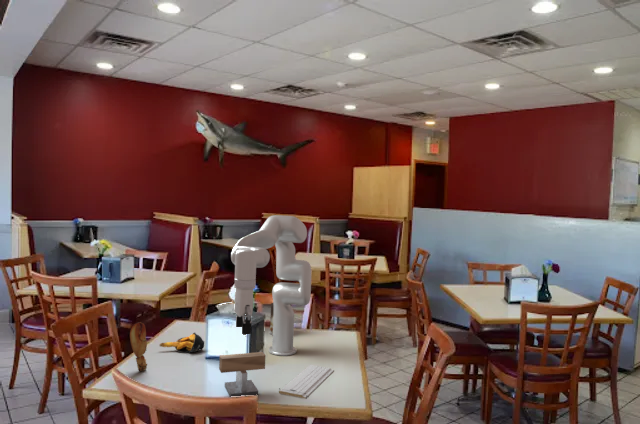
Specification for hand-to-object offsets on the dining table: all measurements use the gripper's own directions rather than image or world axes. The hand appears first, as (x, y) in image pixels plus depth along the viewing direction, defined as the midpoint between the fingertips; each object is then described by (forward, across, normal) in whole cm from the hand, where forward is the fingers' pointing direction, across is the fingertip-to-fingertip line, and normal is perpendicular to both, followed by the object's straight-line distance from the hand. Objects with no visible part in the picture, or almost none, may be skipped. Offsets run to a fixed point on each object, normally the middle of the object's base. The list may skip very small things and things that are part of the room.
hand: (243, 330), depth 184 cm
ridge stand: (+22, 0, 0) cm, 22 cm away
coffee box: (+23, -66, +35) cm, 78 cm away
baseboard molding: (+23, -2, +27) cm, 36 cm away
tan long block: (+14, 0, 0) cm, 14 cm away
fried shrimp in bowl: (+22, -50, -15) cm, 57 cm away
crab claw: (+22, -29, -34) cm, 50 cm away
